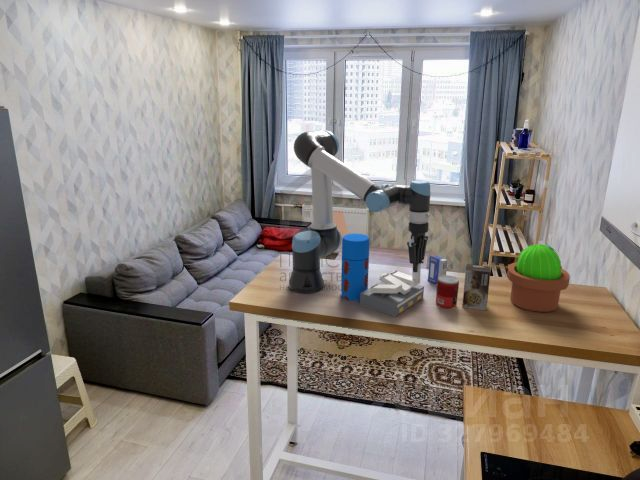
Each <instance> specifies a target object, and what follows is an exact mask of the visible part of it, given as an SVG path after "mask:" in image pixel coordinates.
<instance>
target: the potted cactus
mask: <svg viewBox="0 0 640 480" xmlns="http://www.w3.org/2000/svg"><path fill="white" fill-rule="evenodd" d="M517 256H518V257H516V258H517V261H515V262H512V263H510V264H509V265H508V267H507V274H506V276H507V279H508V280H509V281H510V282H511V284H512V285H511V290H510V296H509V297H510V298H509V299H510V301H511V303H512V304H513V305H515V306H517V307H518V308H521V309H523V310H527V311H530V312H540V313H549V312H554V311H555V310H557V309H558V307H559V301H560V296H561V291H564V290H566V289H567V288H568V287H569V285H570V278H571V275H570V274H569V272H568V271H566V270H565V269H563V266H562V264H561V262H562V261H561V260H560V256H559V254H558V251H557V250H555V249H554V248H553V247H552V246H550V245H549V244H547V243H545V244H542V243H537V244H535V243H534V244H530V245H528V246H526V247H525V248H524V249H523V250H521V251H520V252H519V254H518V255H517Z"/></svg>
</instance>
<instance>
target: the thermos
mask: <svg viewBox="0 0 640 480" xmlns="http://www.w3.org/2000/svg"><path fill="white" fill-rule="evenodd" d="M370 242H371V241H370V237H369V236H368V235H367V234H364V233H348V234H345V235H343V236H342V242H341V279H340V281H341V282H340V283H341V285H340V286H341V287H340V288H341V289H340V290H341V297H342V298H344V299H345V300H349V301H354V302H355V301H360V293H361V292H363V291H365V290H367V289H369V265H370V263H369V261H370Z"/></svg>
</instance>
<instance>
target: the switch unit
mask: <svg viewBox="0 0 640 480" xmlns="http://www.w3.org/2000/svg"><path fill="white" fill-rule="evenodd" d="M377 284H378V285H387V284H385V283H384V282H382V281H379V282H378V283H377ZM407 285H408V284H407ZM409 286H411V285H409ZM424 291H425V286H424V285H421V284H418V285H416V286H415V287H414V286H411V290H410V292H408V293H406V294H405V295H404V294H402V293H401V292H398V293H370V289H369V288H368V289H367V290H365V291H363V292H361V293H360V300H359V305H360V306H362V307H366V308H368V309H371V310H374V311H377V312H380V313H382V314H383V313H384V314H385V315H389V316H392V317H394V318H395V317H397V316H398V315H400V314H401V313H403V312H404V311H405V310H407V309H409V308H410V307H412V306H414V305H415V304H416V303H417V302H419V301H420V300H422V299H423V298H424Z"/></svg>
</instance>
